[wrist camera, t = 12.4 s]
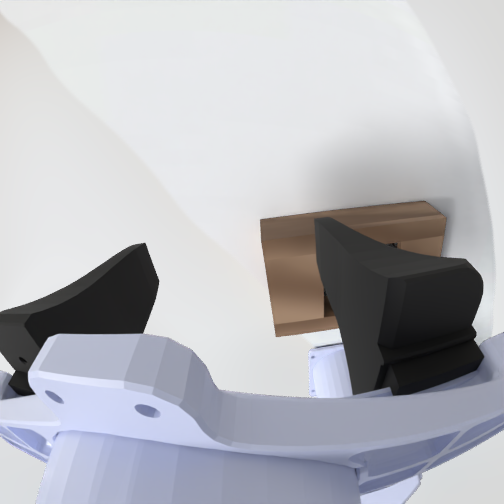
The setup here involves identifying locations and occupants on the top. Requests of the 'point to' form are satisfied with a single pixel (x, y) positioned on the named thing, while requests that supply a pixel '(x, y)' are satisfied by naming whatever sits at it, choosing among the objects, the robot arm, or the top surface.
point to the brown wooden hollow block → (305, 266)
